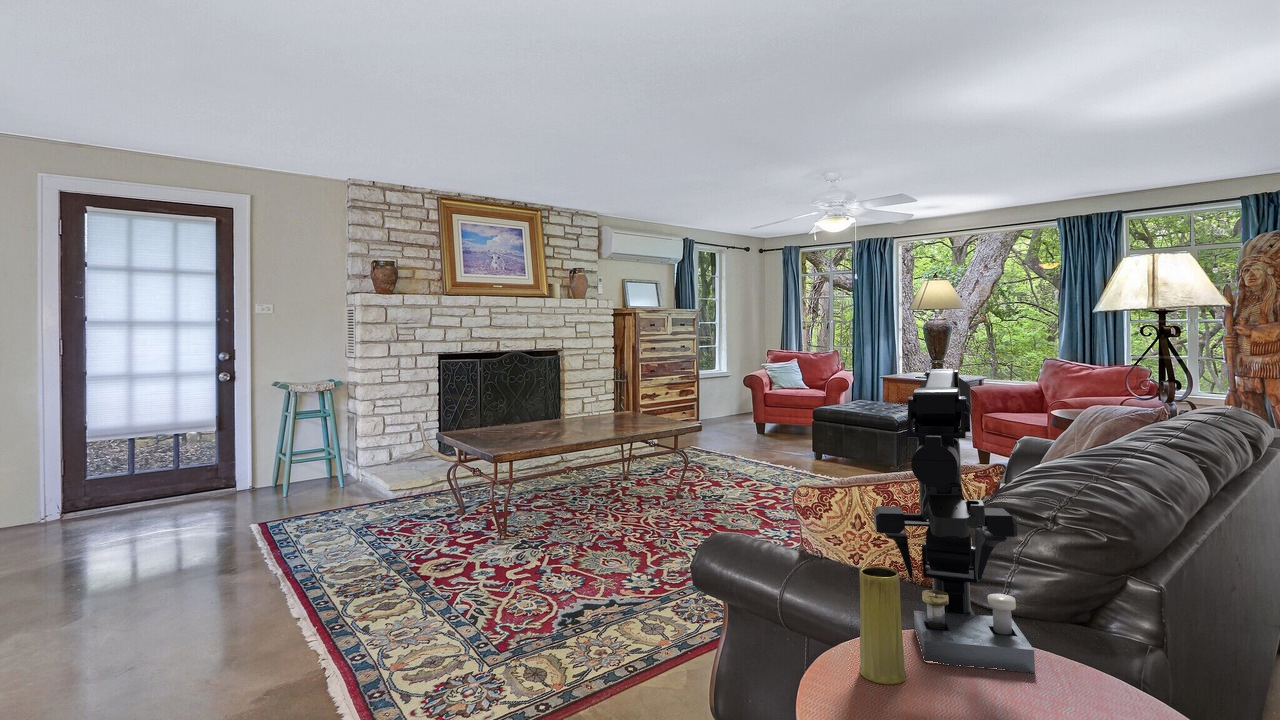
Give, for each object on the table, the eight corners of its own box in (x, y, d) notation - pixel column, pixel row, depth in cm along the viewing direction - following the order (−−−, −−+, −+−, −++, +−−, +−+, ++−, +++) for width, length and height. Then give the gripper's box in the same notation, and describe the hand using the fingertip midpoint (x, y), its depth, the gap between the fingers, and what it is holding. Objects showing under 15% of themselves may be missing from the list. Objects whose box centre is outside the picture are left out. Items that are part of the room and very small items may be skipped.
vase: (898, 665, 92) (895, 565, 93) (912, 686, 86) (908, 578, 87) (855, 664, 93) (851, 565, 93) (865, 685, 87) (861, 578, 87)
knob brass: (921, 620, 100) (920, 589, 100) (947, 622, 99) (946, 590, 99) (925, 629, 97) (923, 596, 97) (951, 631, 96) (950, 598, 96)
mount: (914, 630, 104) (913, 610, 104) (1011, 638, 100) (1010, 617, 100) (924, 663, 93) (923, 640, 93) (1035, 673, 89) (1034, 649, 89)
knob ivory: (986, 625, 97) (985, 592, 98) (1013, 627, 96) (1011, 594, 96) (992, 635, 94) (990, 601, 94) (1019, 637, 93) (1018, 603, 93)
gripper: (877, 484, 90) (882, 595, 90) (1027, 485, 85) (1032, 603, 85) (871, 469, 101) (875, 568, 101) (1003, 469, 96) (1008, 574, 96)
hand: (944, 578), depth 95 cm, fingers open, 9 cm apart
